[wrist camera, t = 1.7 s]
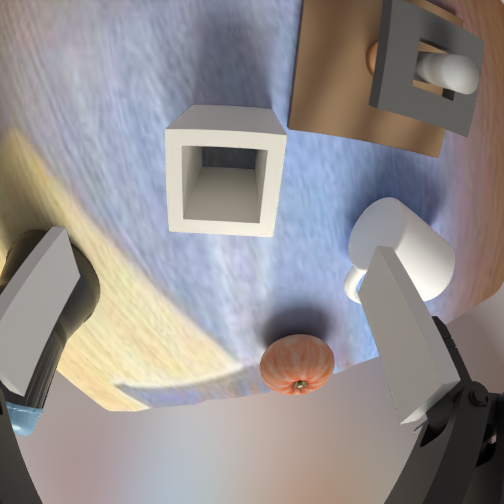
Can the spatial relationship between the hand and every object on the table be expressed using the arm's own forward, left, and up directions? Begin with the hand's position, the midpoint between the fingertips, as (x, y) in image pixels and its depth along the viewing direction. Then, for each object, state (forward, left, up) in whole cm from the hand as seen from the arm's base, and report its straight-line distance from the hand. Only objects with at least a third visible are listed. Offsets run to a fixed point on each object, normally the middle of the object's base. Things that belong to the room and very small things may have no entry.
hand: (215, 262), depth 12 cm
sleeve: (0, 0, -18) cm, 18 cm away
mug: (+18, -10, -18) cm, 27 cm away
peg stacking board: (+13, +10, -18) cm, 24 cm away
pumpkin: (+11, -29, -18) cm, 36 cm away
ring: (+13, +10, -10) cm, 19 cm away
